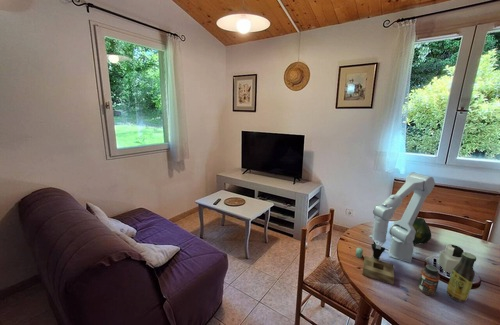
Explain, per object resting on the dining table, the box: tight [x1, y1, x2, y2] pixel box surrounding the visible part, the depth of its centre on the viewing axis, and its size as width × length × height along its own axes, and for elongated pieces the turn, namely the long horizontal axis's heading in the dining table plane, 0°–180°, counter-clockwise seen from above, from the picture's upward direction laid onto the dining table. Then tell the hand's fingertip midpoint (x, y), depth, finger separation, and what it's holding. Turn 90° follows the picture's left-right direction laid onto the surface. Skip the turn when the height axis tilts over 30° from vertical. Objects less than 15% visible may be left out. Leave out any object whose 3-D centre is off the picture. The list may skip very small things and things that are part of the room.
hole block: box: [362, 255, 395, 285], centre depth 103 cm, size 12×10×4 cm
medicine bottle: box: [437, 244, 464, 274], centre depth 105 cm, size 7×7×12 cm
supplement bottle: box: [417, 264, 440, 297], centre depth 92 cm, size 6×6×11 cm
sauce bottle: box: [446, 251, 477, 303], centre depth 88 cm, size 6×6×20 cm
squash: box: [400, 217, 432, 245], centre depth 128 cm, size 14×15×15 cm
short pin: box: [355, 247, 364, 259], centre depth 115 cm, size 3×3×4 cm
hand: (376, 254), depth 111 cm, fingers open, 7 cm apart
